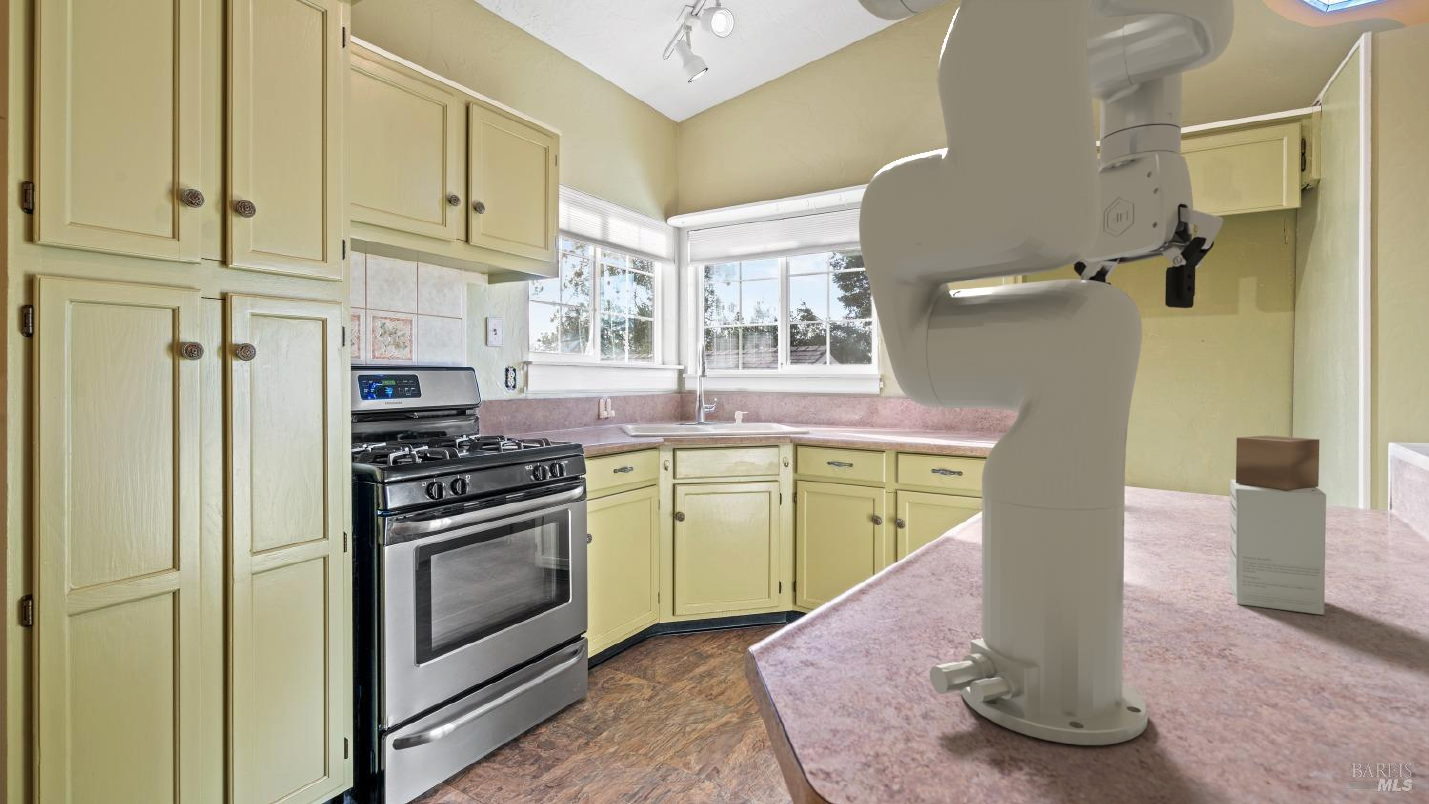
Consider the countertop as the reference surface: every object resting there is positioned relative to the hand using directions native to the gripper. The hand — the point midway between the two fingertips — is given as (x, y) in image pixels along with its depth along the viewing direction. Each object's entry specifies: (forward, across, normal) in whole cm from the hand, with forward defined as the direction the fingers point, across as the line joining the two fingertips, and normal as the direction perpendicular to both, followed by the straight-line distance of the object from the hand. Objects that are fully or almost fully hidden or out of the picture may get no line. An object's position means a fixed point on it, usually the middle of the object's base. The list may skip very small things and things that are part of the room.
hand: (1136, 312), depth 75 cm
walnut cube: (+19, +6, +13) cm, 24 cm away
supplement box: (+31, +6, +13) cm, 35 cm away
